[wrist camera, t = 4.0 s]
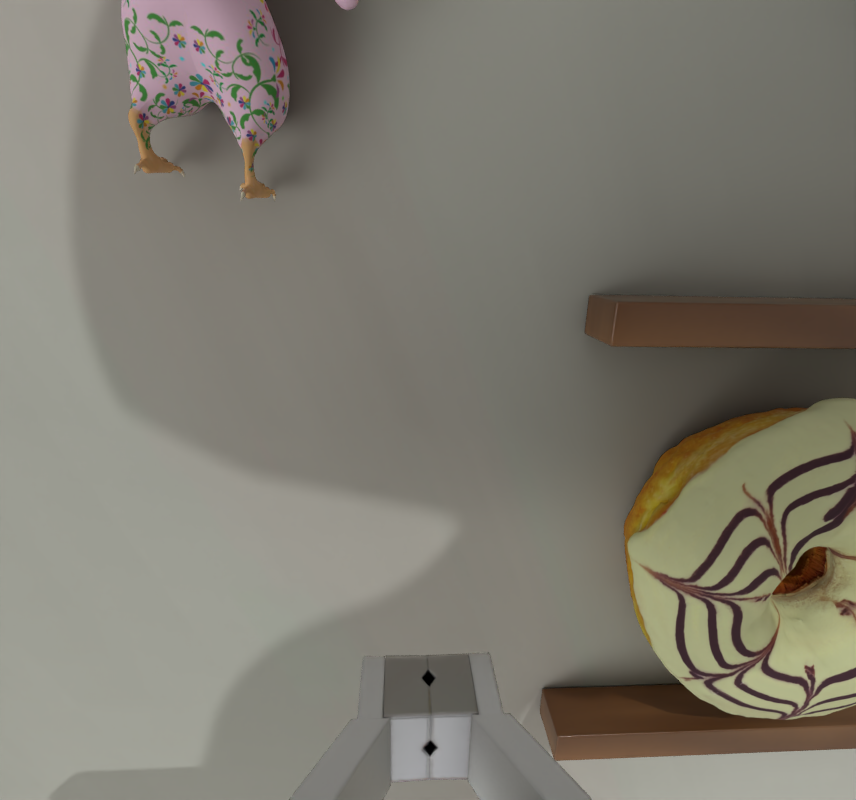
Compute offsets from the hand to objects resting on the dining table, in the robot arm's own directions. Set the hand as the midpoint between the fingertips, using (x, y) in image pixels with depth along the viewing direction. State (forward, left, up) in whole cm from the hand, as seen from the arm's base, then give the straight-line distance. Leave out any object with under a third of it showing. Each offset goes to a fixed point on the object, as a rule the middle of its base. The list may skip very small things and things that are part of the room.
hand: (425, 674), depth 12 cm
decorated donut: (0, +12, -6) cm, 13 cm away
